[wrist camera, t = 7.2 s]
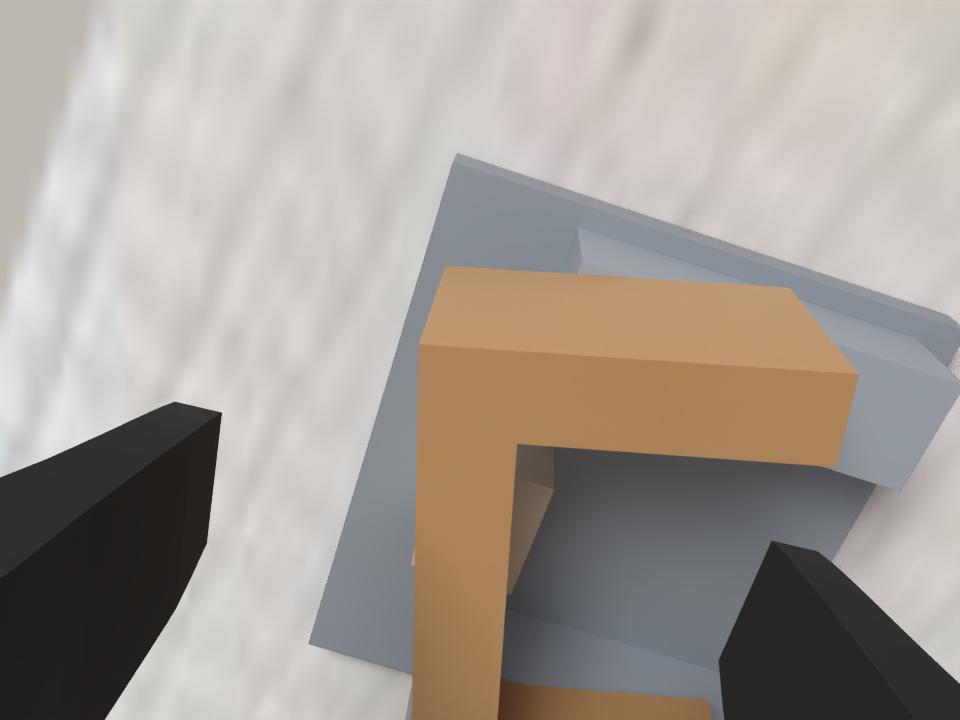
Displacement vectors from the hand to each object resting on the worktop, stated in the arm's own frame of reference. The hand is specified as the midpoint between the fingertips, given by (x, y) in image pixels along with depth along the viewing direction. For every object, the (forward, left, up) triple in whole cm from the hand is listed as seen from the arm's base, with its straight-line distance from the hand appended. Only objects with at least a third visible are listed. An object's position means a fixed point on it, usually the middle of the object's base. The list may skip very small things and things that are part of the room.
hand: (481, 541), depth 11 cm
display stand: (-4, +4, -10) cm, 12 cm away
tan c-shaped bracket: (-3, +4, -7) cm, 8 cm away
